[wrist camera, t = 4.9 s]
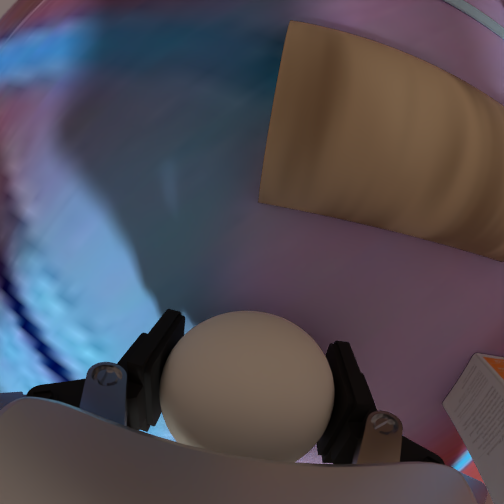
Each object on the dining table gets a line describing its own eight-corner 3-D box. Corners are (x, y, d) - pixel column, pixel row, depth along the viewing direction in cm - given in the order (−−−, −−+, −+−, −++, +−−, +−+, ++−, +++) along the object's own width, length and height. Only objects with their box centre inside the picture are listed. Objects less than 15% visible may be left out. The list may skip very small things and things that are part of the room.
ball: (339, 299, 11) (386, 400, 5) (302, 405, 13) (308, 507, 7) (192, 271, 11) (122, 354, 6) (182, 383, 13) (141, 478, 7)
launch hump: (473, 127, 13) (558, 118, 6) (454, 241, 16) (536, 283, 8) (286, 62, 14) (295, -18, 6) (262, 195, 16) (252, 217, 8)
